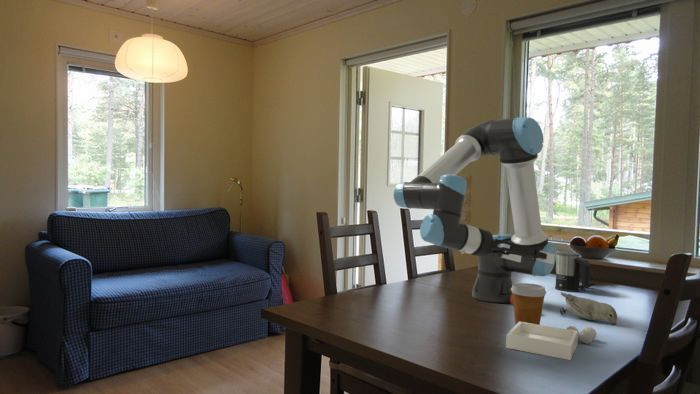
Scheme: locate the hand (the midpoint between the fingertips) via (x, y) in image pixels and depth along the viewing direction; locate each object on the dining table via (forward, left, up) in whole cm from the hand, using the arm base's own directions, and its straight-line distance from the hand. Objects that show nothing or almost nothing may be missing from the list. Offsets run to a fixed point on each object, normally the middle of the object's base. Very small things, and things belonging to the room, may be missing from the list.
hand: (536, 258), depth 139 cm
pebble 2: (+14, -8, -20) cm, 26 cm away
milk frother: (+4, +69, -20) cm, 72 cm away
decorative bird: (+12, +19, -20) cm, 30 cm away
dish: (+5, -17, -20) cm, 27 cm away
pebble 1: (+11, -6, -20) cm, 23 cm away
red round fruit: (-7, +16, -20) cm, 27 cm away
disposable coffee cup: (-1, -3, -20) cm, 20 cm away
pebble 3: (+15, -4, -20) cm, 25 cm away
